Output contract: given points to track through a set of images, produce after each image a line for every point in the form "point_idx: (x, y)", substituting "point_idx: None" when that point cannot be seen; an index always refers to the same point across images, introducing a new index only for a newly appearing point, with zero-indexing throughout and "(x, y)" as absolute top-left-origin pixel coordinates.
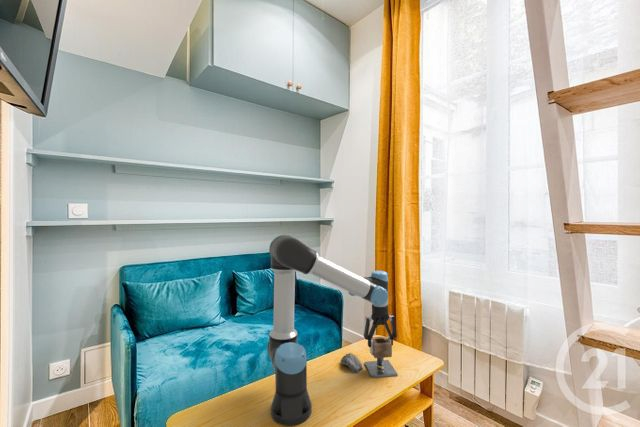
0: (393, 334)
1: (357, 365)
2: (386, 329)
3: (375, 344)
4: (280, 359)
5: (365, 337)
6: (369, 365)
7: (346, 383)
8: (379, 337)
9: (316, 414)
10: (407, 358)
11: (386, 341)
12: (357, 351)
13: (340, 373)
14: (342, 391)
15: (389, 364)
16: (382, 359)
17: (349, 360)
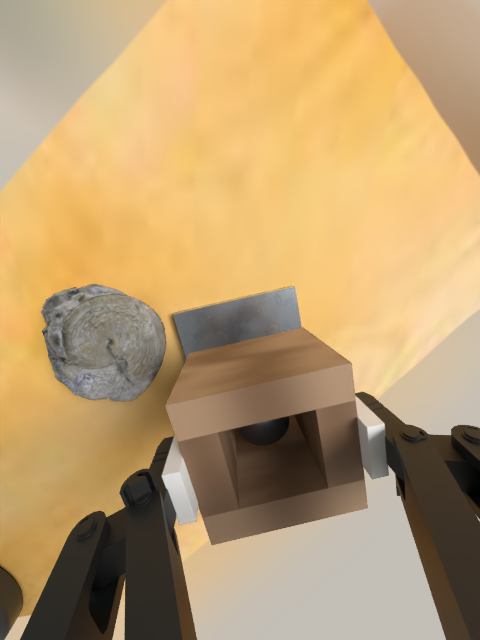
0: (468, 476)
1: (135, 382)
2: (448, 617)
3: (220, 532)
4: None
5: (92, 596)
6: (197, 346)
7: (107, 458)
8: (277, 394)
9: (40, 593)
10: (392, 242)
11: (332, 469)
12: (131, 175)
13: (71, 400)
14: (99, 499)
15: (293, 328)
16: None
17: (80, 388)
